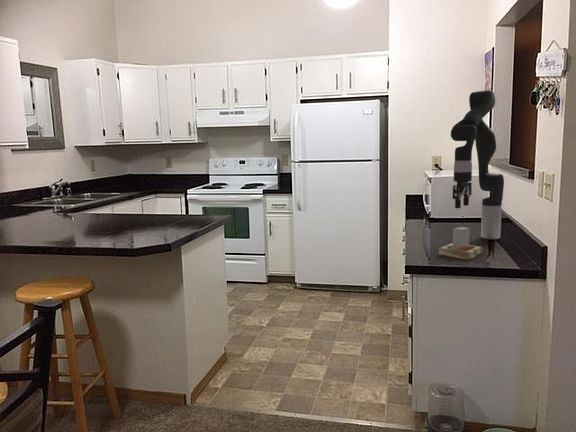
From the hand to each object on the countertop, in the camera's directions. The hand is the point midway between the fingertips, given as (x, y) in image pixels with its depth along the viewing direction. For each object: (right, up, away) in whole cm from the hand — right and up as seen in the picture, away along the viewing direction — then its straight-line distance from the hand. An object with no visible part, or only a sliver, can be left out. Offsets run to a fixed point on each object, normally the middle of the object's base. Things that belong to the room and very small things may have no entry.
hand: (461, 206), depth 219 cm
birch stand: (+1, -21, +4) cm, 22 cm away
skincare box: (+1, -22, +4) cm, 22 cm away
